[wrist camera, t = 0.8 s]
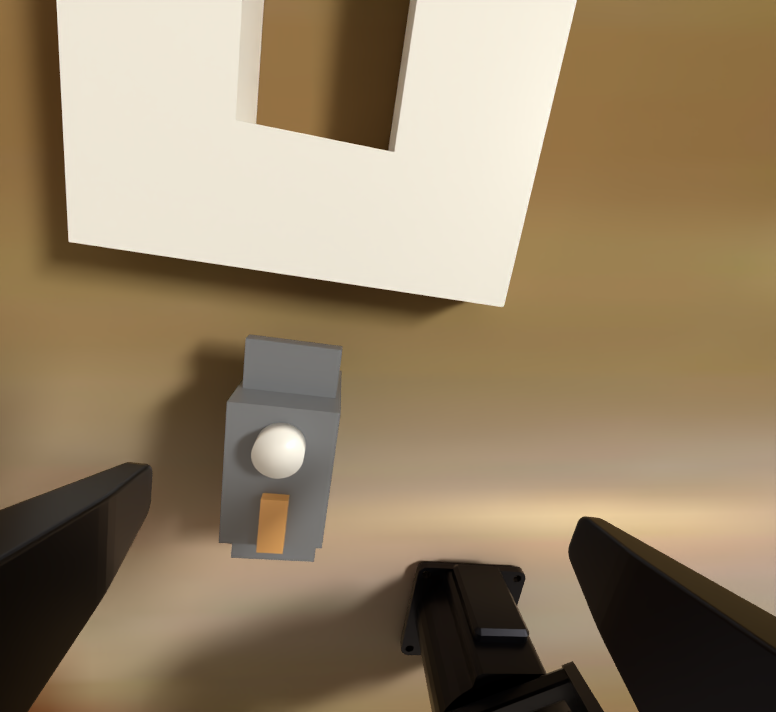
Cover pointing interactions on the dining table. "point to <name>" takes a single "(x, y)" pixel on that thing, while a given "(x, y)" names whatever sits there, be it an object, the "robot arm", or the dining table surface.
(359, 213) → the white square base plate
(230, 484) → the servo
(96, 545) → the robot arm
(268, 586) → the dining table surface
